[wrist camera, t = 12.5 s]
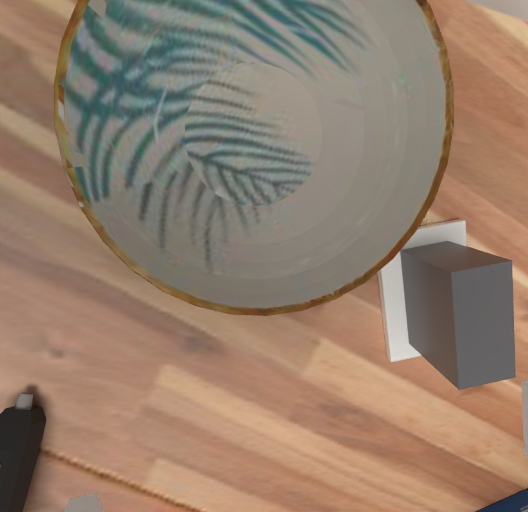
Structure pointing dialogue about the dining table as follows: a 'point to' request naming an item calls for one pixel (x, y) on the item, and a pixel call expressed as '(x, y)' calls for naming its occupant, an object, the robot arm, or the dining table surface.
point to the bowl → (254, 141)
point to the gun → (18, 451)
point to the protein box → (510, 504)
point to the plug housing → (460, 311)
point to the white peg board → (394, 289)
